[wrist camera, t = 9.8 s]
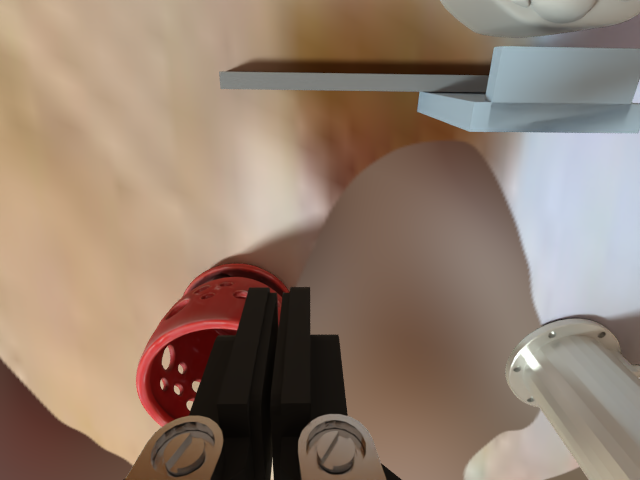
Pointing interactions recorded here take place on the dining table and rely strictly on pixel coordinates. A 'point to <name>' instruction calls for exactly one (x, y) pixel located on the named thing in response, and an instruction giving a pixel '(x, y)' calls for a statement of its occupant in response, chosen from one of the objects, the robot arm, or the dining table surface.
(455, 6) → the lumpy-topped squat cylinder
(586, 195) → the dining table surface
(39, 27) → the dining table surface
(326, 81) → the grey long bars
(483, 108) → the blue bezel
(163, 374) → the plant pot
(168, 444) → the robot arm
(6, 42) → the dining table surface
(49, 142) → the dining table surface
